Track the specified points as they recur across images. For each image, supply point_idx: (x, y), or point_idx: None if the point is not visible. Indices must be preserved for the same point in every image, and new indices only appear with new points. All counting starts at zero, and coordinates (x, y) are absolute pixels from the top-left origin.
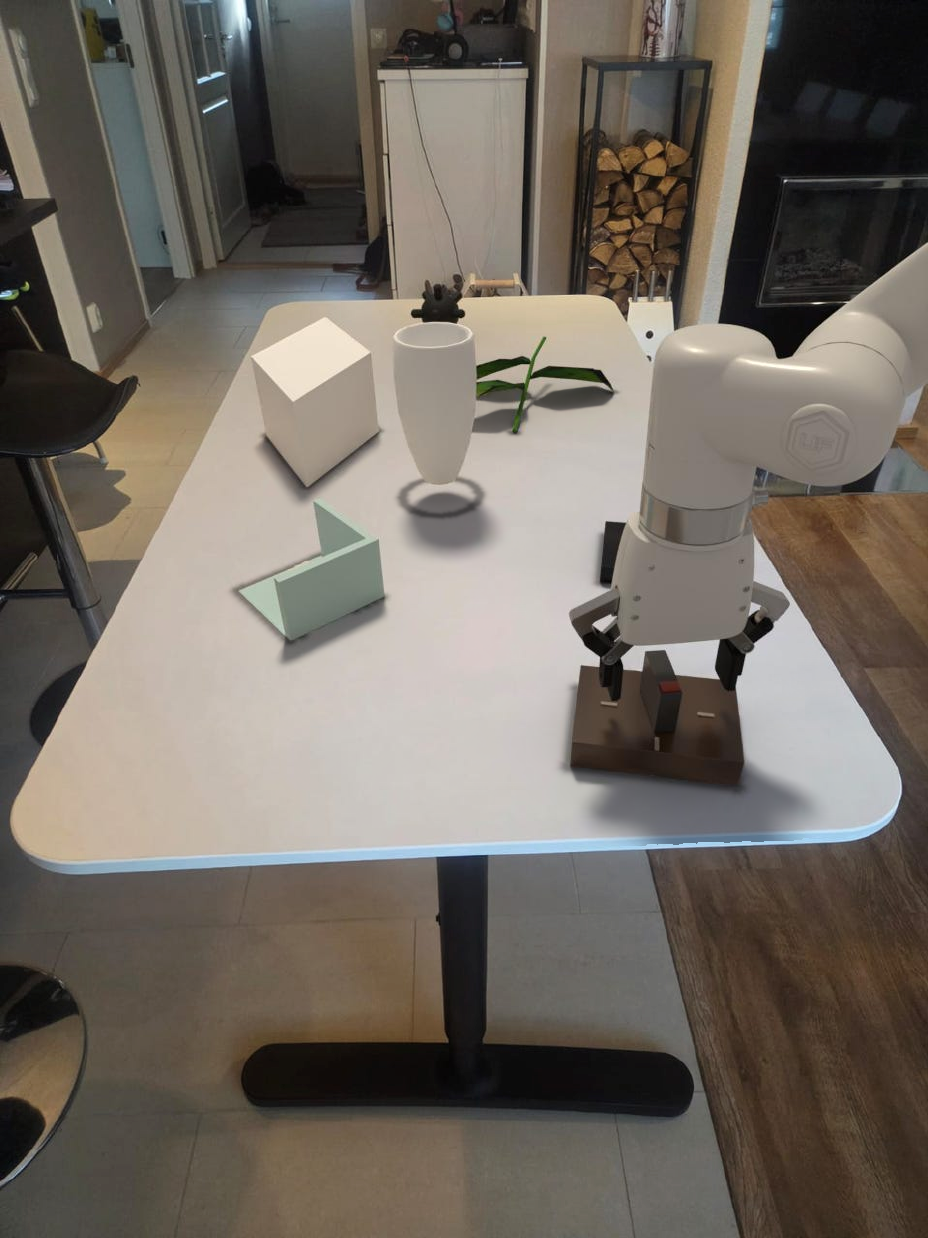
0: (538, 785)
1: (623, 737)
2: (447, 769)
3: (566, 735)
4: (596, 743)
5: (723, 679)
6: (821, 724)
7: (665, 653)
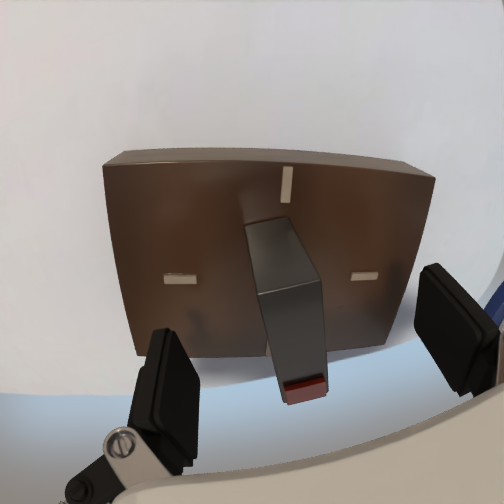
0: (117, 347)
1: (215, 342)
2: (23, 333)
3: None
4: None
5: (421, 321)
6: (488, 196)
7: (318, 294)
